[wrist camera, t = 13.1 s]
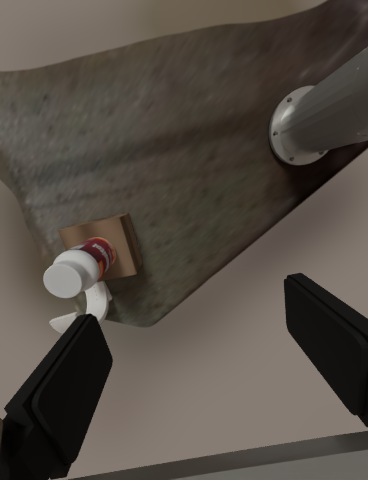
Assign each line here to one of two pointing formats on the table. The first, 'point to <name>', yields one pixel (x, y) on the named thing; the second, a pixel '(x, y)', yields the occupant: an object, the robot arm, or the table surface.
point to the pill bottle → (79, 267)
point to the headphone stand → (96, 306)
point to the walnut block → (116, 233)
